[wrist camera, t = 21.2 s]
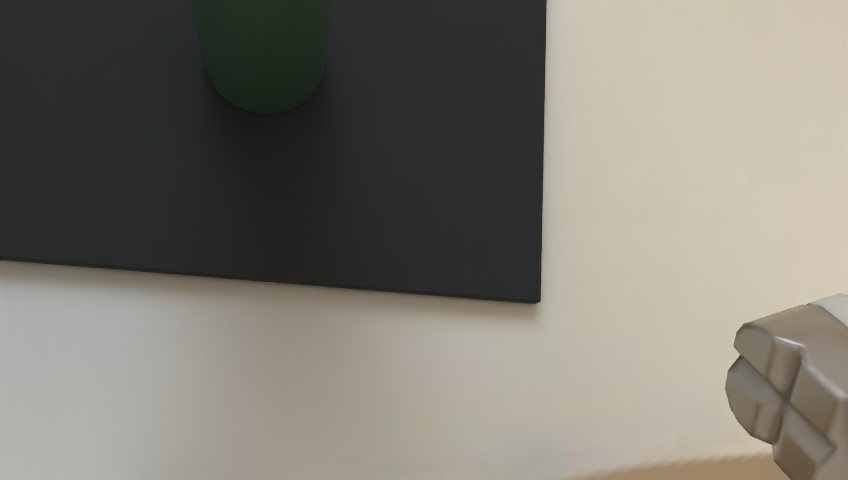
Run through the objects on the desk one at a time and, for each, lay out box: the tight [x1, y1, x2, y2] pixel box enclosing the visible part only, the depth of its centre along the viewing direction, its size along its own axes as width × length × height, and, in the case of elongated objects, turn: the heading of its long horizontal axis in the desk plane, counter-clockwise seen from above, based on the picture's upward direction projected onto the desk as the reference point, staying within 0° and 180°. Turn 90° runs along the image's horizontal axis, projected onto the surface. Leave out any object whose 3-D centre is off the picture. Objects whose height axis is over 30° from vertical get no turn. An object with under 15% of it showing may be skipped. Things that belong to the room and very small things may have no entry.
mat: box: [0, 0, 547, 304], centre depth 21 cm, size 16×10×1 cm, turn 87°
